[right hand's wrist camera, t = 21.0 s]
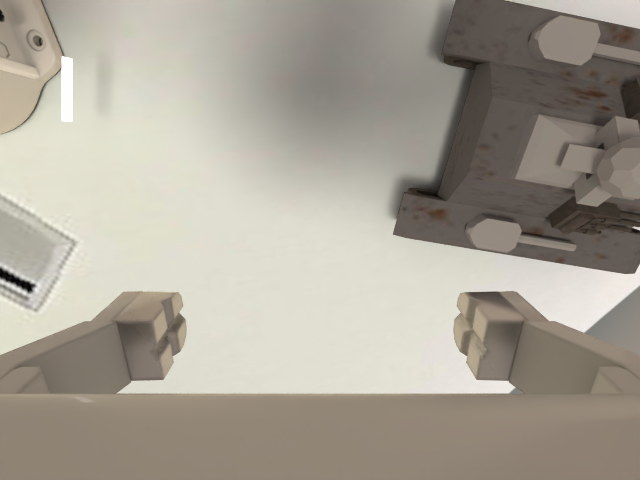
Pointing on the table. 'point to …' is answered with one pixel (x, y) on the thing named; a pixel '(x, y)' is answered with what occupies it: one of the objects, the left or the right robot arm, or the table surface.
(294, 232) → the table surface
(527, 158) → the toy
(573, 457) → the right robot arm
